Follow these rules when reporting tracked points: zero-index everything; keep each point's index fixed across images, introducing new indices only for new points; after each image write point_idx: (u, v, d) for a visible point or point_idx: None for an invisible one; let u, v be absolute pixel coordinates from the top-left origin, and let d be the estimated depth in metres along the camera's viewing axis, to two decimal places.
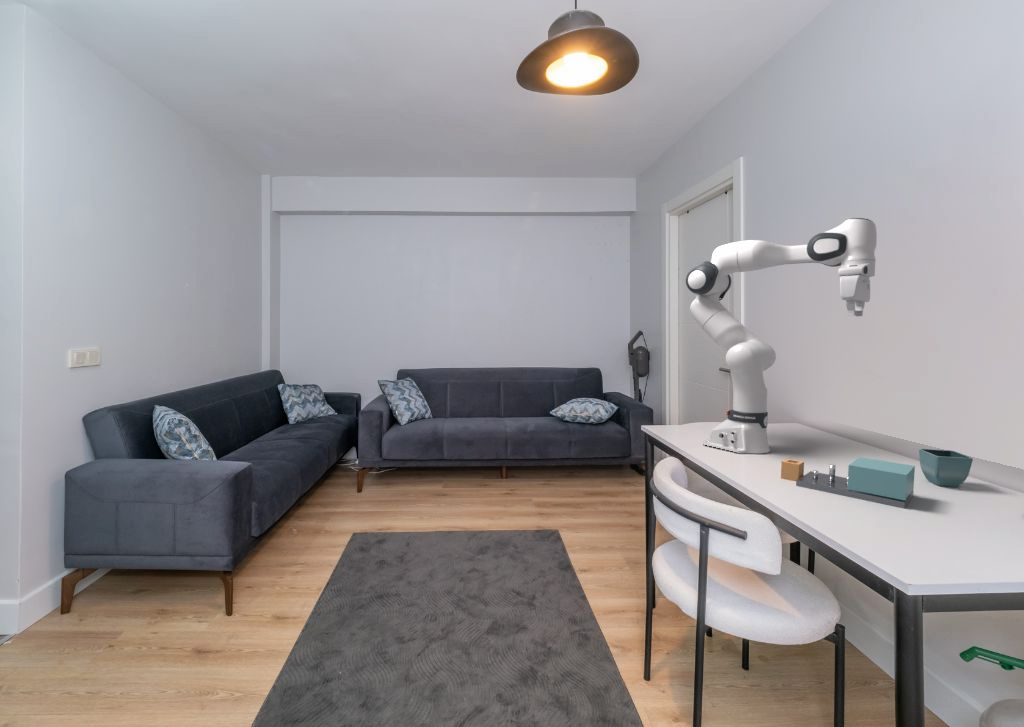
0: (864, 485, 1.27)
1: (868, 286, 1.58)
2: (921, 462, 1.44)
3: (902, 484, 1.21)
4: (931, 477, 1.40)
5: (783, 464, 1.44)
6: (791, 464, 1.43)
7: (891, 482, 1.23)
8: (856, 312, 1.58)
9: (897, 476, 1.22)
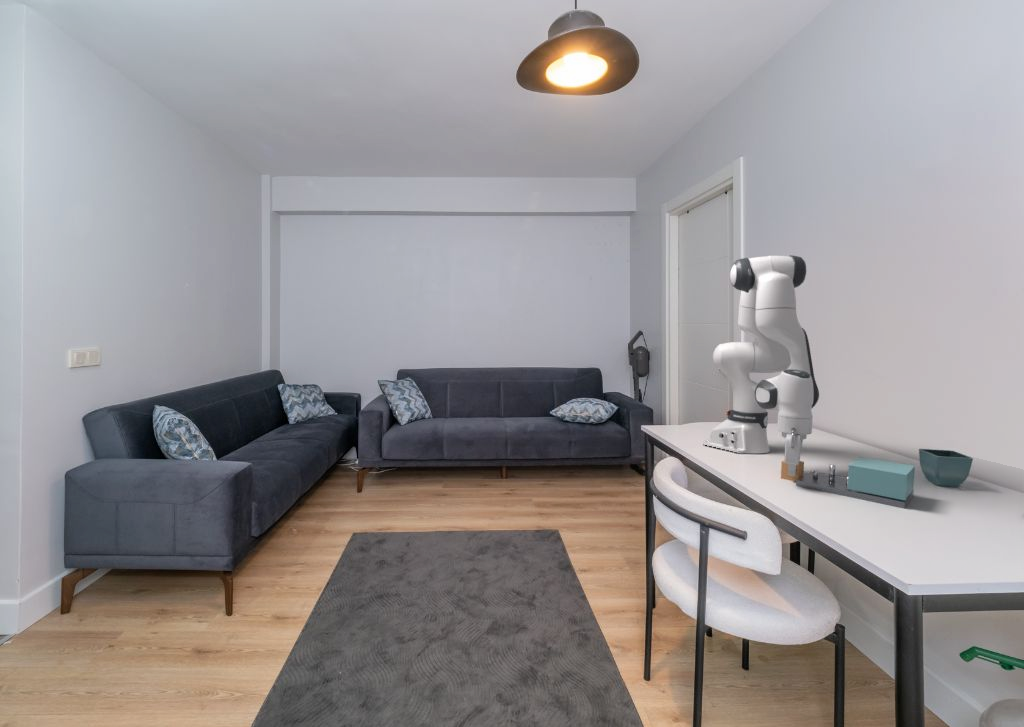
0: (864, 485, 1.27)
1: None
2: (921, 462, 1.44)
3: (902, 484, 1.21)
4: (931, 477, 1.40)
5: (783, 464, 1.44)
6: None
7: (891, 482, 1.23)
8: None
9: (897, 476, 1.22)
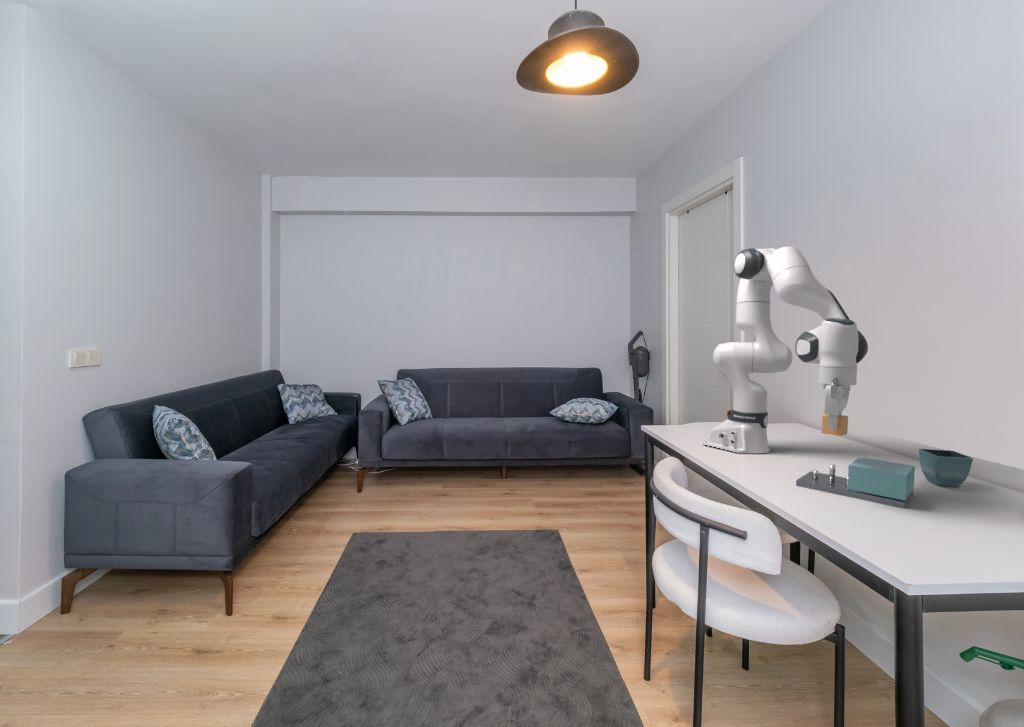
0: (864, 485, 1.27)
1: None
2: (921, 462, 1.44)
3: (902, 484, 1.21)
4: (931, 477, 1.40)
5: (824, 418, 1.36)
6: None
7: (891, 482, 1.23)
8: None
9: (897, 476, 1.22)
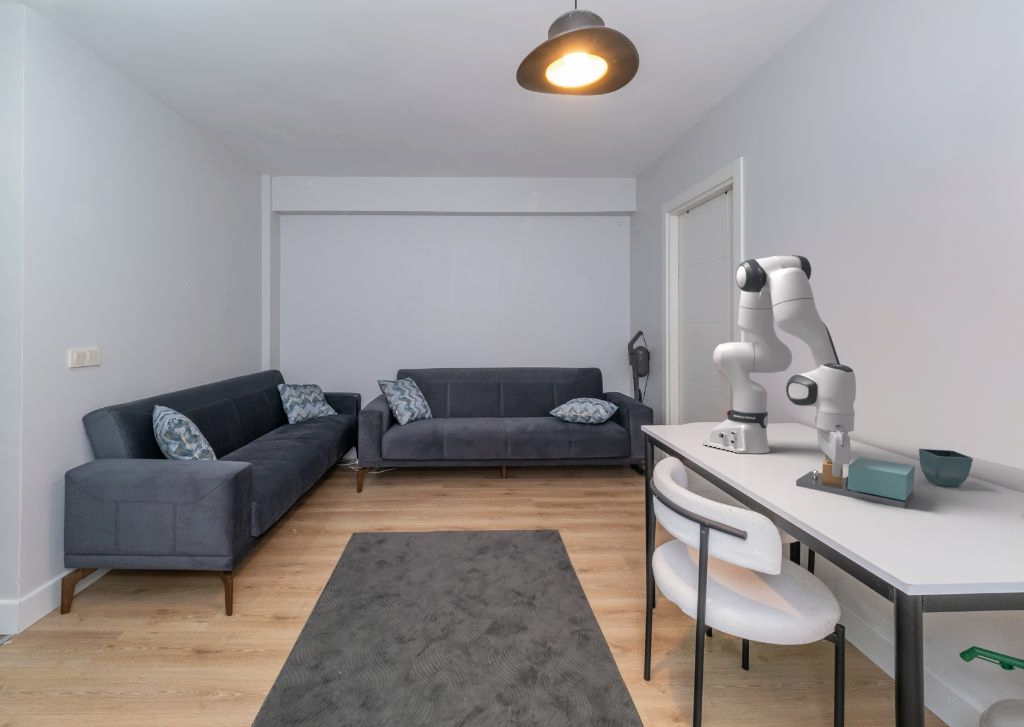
0: (864, 485, 1.27)
1: (832, 443, 1.31)
2: (921, 462, 1.44)
3: (902, 484, 1.21)
4: (931, 477, 1.40)
5: (825, 467, 1.36)
6: None
7: (891, 482, 1.23)
8: None
9: (897, 476, 1.22)
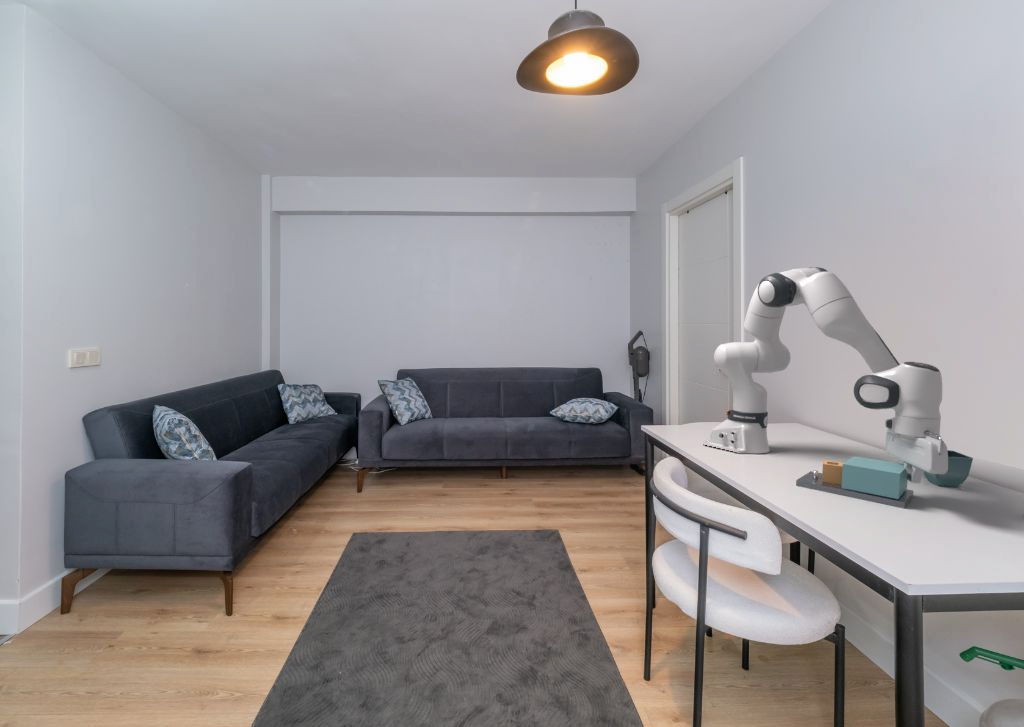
0: (858, 484, 1.28)
1: (925, 450, 1.17)
2: None
3: (895, 483, 1.22)
4: (931, 477, 1.40)
5: (825, 467, 1.36)
6: (834, 466, 1.35)
7: (884, 481, 1.24)
8: None
9: (890, 475, 1.23)
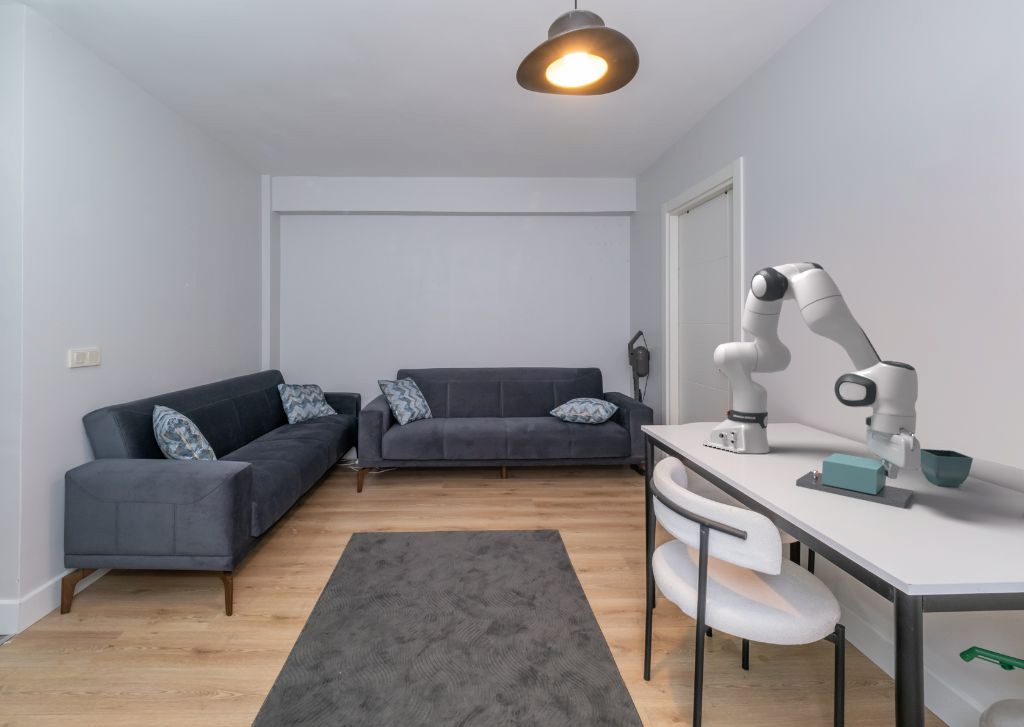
0: (837, 480, 1.31)
1: (899, 447, 1.21)
2: (921, 462, 1.44)
3: (873, 479, 1.26)
4: (931, 477, 1.40)
5: None
6: None
7: (862, 477, 1.27)
8: None
9: (868, 471, 1.26)
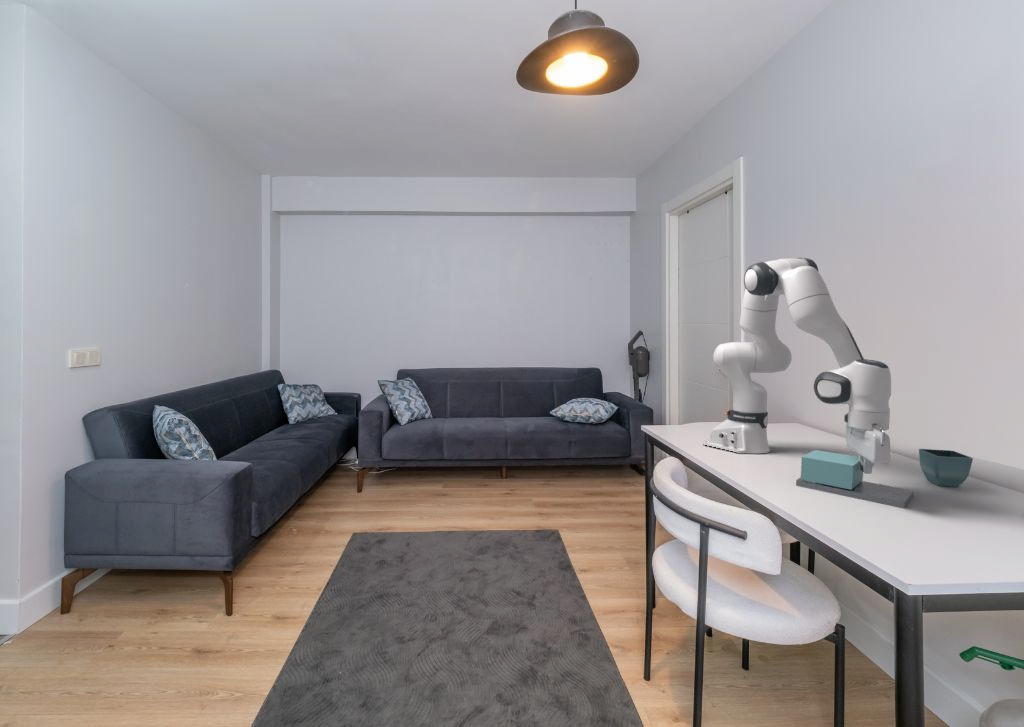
0: (815, 476, 1.35)
1: (870, 442, 1.25)
2: (921, 462, 1.44)
3: (849, 474, 1.29)
4: (931, 477, 1.40)
5: None
6: None
7: (839, 473, 1.31)
8: None
9: (844, 467, 1.30)
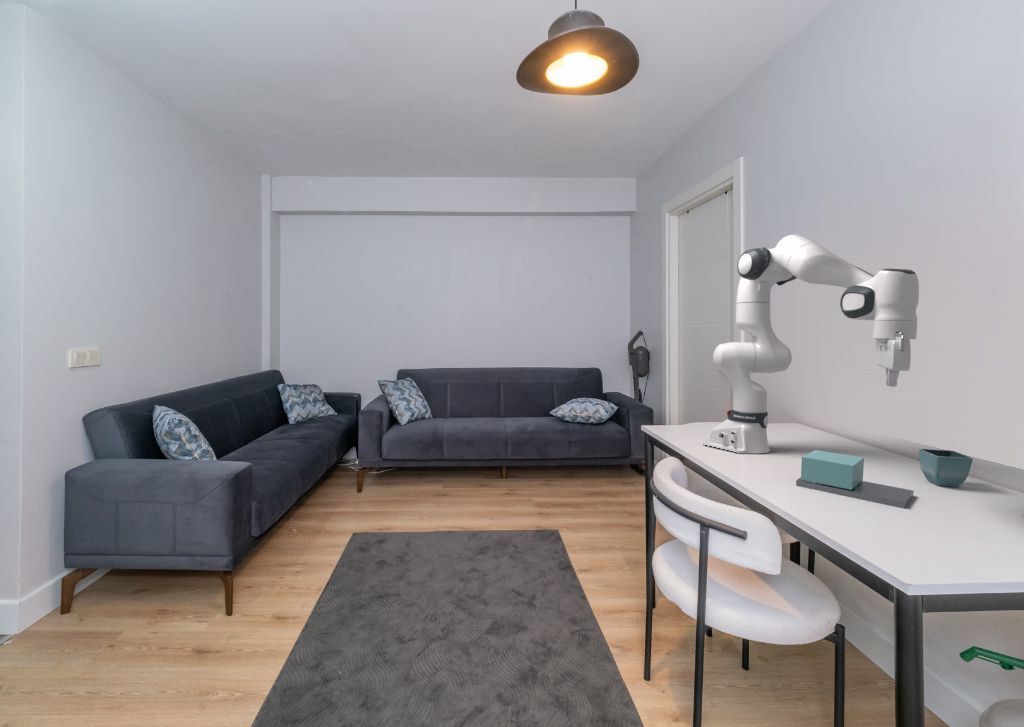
0: (815, 476, 1.35)
1: (890, 350, 1.21)
2: (921, 462, 1.44)
3: (849, 474, 1.29)
4: (931, 477, 1.40)
5: None
6: None
7: (839, 473, 1.31)
8: None
9: (845, 467, 1.30)
